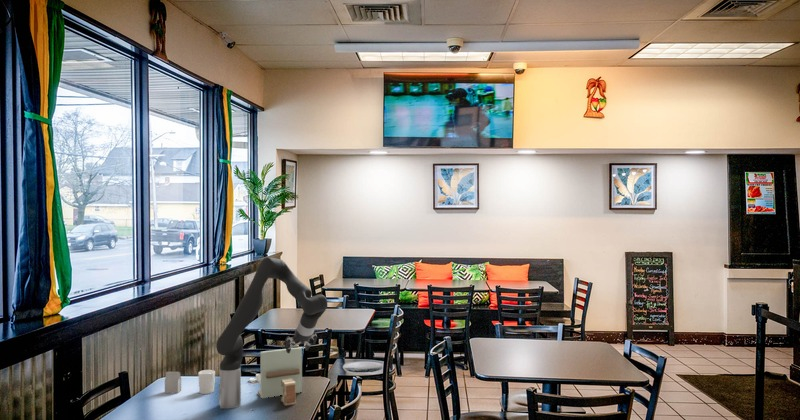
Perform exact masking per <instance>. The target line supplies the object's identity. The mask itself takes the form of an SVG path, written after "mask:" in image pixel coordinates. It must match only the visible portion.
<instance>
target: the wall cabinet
mask: <svg viewBox="0 0 800 420" xmlns="http://www.w3.org/2000/svg"><path fill="white" fill-rule="evenodd" d="M282 386H283V395H282V397H280V401H281V403H282V402H283V403H282V404H283V405H284V406H292V405H296V404H297V398H296V396H297V395H296V394H297V393H296V382H295V381H294V380H293V379H292V378H290V379H282V380H281V387H282Z"/></svg>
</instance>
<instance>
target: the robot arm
mask: <svg viewBox="0 0 800 420" xmlns="http://www.w3.org/2000/svg"><path fill="white" fill-rule="evenodd" d="M268 279H273V280H276V279H277V280H279V281H281V282H282V283H283V284H285V286H286V289H287V292H288V293H289V295H291V296H292V297H293V298H294V299H295V300H296V301H297V302H298V303H299V305H300V308H301V309H302V312H303V313H302V314H301V317H300V319H299V321H298V323H297V326H296V328H295V331H294V335H293V336H292V337H290V336H289V335H288V336H286V338H285V340H284V342H283V346H284V349H286V351H287V353H290V351H291V348H296V347H297V346H298V345H304V344H305V345H304V349H305V351H307V352H308V350H309V349H310V348H311V346H314V345H316V342H317V339H318V336H317V333H316V332H315V330H316V325H317V323H318V320H319V319H320V318H321V317H322V315H323V314H324V313H325V311H326V310H327V307H328V299H327V297H326V296H325V295H323V294H315V295H313V291H312V290H311V289H310V288H309V287H308V286H307V285H306V284H305V283H304V282H302V280H300V279H299V278H298V277H297V276H296V275H295V273H294V272H293V271H292V270H291V269H290V267H289V266H288V264H286V262H285V261H284V260H283V259H280V258H277V257H270V256H266V257H264V258H263V259H262V260H261V261H260V263H259V265H258V266H257V269H256V270H255V274H254V276H253V279H252V280H251V282H250V285H249V286H248V289H247V290H246V292H245V293H244V295H243V297H242V298H241V301H240V302H239V304H238V306H237V308H236V310H235V312H234V313H233V316H232V317H231V319H230V321H229V322H228V325H227V326H226V327H225V328H224V330H223V332H222V333H221V334H220V336H219V337H218V339H217V341H216V344H215V345H216V346H215V348H216V352H217V353H218V354H219V355H221V356H224V358H223V359H222V360H221V362H220V363H219V384H218V406H219V407H220V409H233V408H239V407H240V406H241V405H242V403H241V402H242V394H241V393H242V389H241V388H242V387H241V385H242V383H241V382H242V381H241V379H242V377H241V376H242V372H241V371H242V370H241V369H242V366H241V364H242V361H243V356H244V355H243V354H244V342H243V337H242V335H241V334H242V333H243V331H244V330H245V329H246V328H247V327H248V326H249V324H251V323H252V322H253V321H254V319H256V317H257V315H258V313H259V312H260V310H261V308H262V306H263V303H264V297H263V295H264V294H263V289H264V287H265V284H266V282H267V281H268ZM312 295H313V296H312Z"/></svg>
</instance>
